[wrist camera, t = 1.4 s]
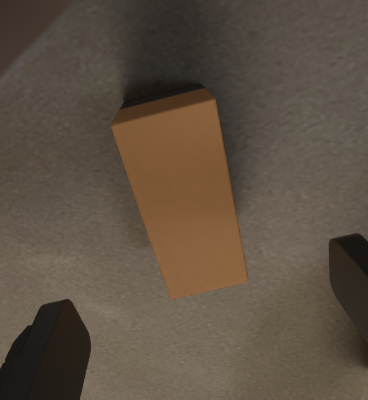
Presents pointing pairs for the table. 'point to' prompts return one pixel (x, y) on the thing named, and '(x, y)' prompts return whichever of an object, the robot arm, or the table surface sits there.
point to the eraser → (183, 188)
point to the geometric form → (365, 391)
